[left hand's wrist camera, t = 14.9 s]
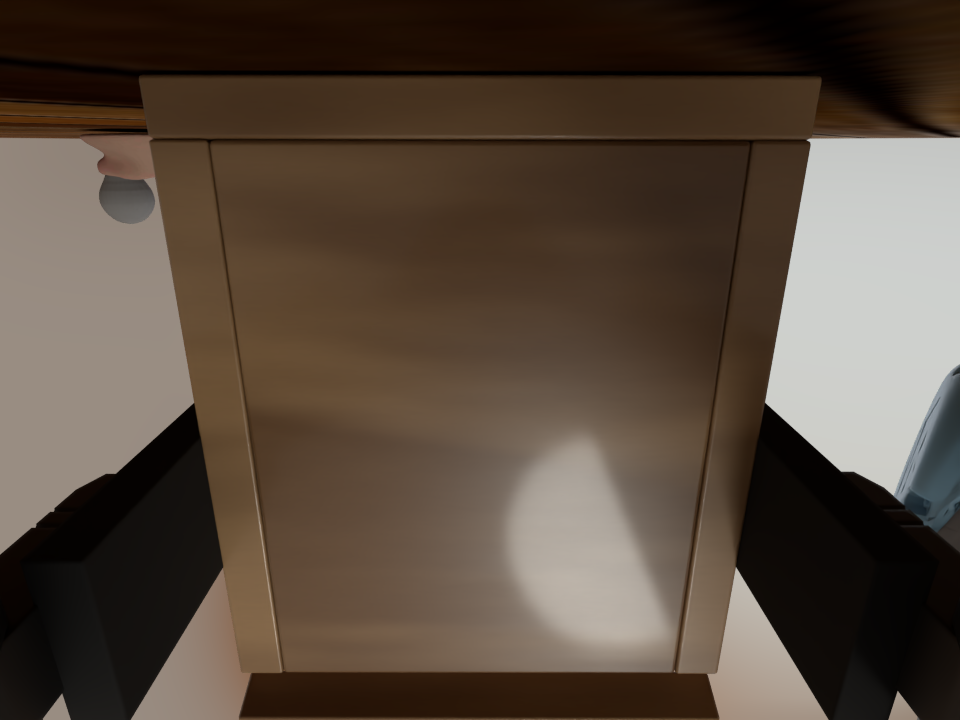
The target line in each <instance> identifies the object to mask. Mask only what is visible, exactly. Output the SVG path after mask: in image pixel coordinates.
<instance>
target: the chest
mask: <svg viewBox="0 0 960 720" xmlns="http://www.w3.org/2000/svg"><path fill="white" fill-rule="evenodd" d="M821 81H822V79H821V77H820V76H818V75H415V74H143V75H141V76H139V83H140V89H141V95H142V101H143V106H144V112H145V118H146V124H147V130H148V134H149V136H150V137H151V138H153V139H152V140H150V141H149V145H150V150H151V156H152V162H153V168H154V173H155V179H156V185H157V191H158V196H159V202H160V208H161V214H162V219H163V225H164V231H165V237H166V242H167V248H168V254H169V260H170V265H171V271H172V277H173V283H174V288H175V294H176V300H177V306H178V311H179V317H180V323H181V329H182V334H183V340H184V346H185V351H186V357H187V363H188V369H189V374H190V380H191V386H192V392H193V397H194V403H195V409H196V415H197V420H198V426H199V432H200V437H201V442H202V447H203V453H204V459H205V464H206V470H207V476H208V482H209V487H210V493H211V499H212V504H213V510H214V516H215V521H216V527H217V533H218V539H219V544H220V550H221V556H222V561H223V570H224V576H225V581H226V587H227V593H228V598H229V604H230V610H231V616H232V621H233V627H234V633H235V639H236V644H237V650H238V656H239V662H240V667H241V672H242V673H282V672H283V670H285V671H286V672H395V673H672V672H674V670H675V672H676V673H678V674H715V673H717V670H718V664H719V658H720V653H721V647H722V642H723V636H724V630H725V625H726V619H727V613H728V608H729V602H730V597H731V591H732V585H733V579H734V574H735V568H736V563H737V557H738V551H739V546H740V540H741V535H742V529H743V523H744V518H745V512H746V506H747V501H748V495H749V489H750V484H751V478H752V472H753V467H754V461H755V456H756V450H757V444H758V439H759V433H760V427H761V422H762V416H763V410H764V405H765V399H766V393H767V388H768V382H769V376H770V371H771V365H772V360H773V354H774V348H775V342H776V337H777V331H778V325H779V320H780V314H781V309H782V303H783V298H784V292H785V286H786V280H787V275H788V269H789V264H790V258H791V252H792V247H793V241H794V235H795V230H796V224H797V219H798V213H799V207H800V202H801V196H802V190H803V185H804V179H805V173H806V168H807V162H808V156H809V151H810V142H809V141H807V140H808V139H810V138H811V136H812V132H813V127H814V121H815V115H816V110H817V104H818V98H819V93H820V87H821Z"/></svg>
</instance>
